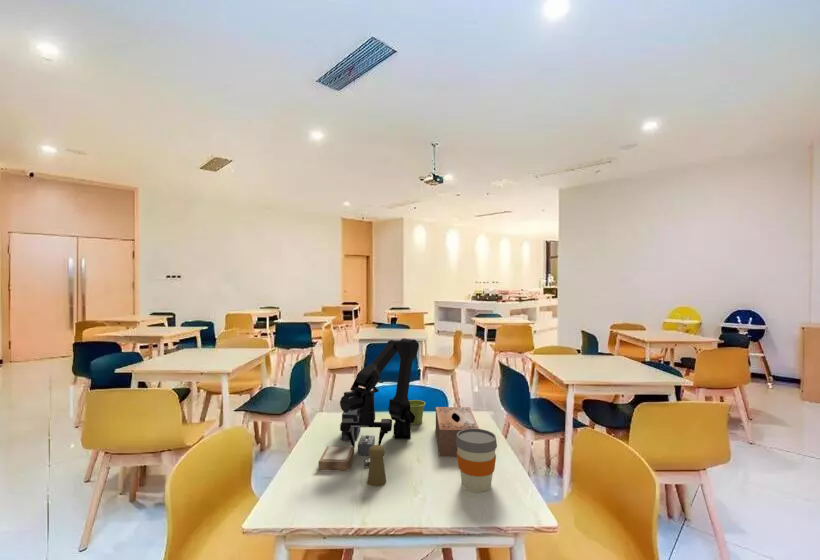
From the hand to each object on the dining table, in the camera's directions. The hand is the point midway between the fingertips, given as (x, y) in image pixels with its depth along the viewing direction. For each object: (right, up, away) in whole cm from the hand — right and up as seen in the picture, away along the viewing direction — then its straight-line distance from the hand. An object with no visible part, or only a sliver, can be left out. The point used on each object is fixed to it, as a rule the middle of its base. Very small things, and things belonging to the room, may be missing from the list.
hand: (366, 448), depth 144 cm
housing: (0, -2, 0) cm, 2 cm away
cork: (+6, -1, -22) cm, 23 cm away
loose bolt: (+4, -1, -11) cm, 12 cm away
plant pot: (+18, -2, +31) cm, 36 cm away
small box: (-8, -2, +15) cm, 17 cm away
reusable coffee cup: (+37, -1, -23) cm, 44 cm away
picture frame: (-9, -1, -9) cm, 13 cm away
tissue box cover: (+34, -2, +9) cm, 35 cm away
